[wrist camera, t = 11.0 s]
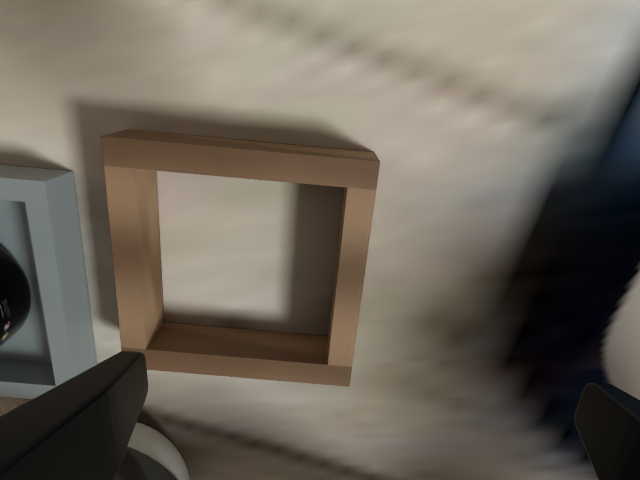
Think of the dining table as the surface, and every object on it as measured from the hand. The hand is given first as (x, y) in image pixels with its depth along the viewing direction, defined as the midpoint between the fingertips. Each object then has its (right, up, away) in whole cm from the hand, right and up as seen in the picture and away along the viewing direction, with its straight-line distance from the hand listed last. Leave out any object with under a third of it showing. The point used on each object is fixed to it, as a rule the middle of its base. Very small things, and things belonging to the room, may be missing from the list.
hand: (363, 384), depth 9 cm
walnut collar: (-5, +2, +13) cm, 14 cm away
